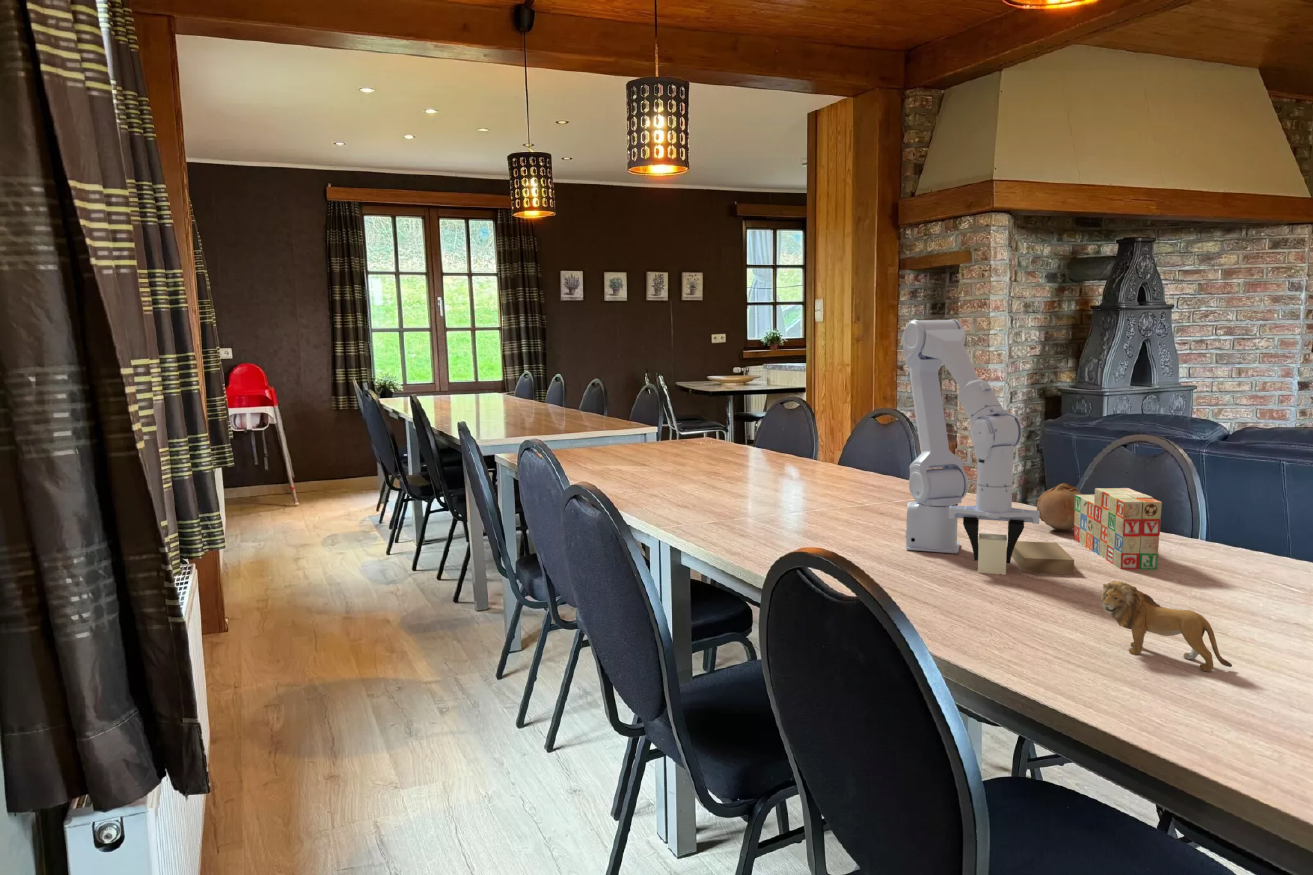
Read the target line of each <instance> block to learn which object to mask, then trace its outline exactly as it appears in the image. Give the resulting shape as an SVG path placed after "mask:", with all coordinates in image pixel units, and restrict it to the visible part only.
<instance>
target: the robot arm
mask: <svg viewBox="0 0 1313 875" xmlns="http://www.w3.org/2000/svg"><path fill="white" fill-rule="evenodd" d="M966 335H967V334H966V332H965V330H964V328H963V326H962V323H961V322H960V321H959V320H957V319H956V318H950V319H936V320H935V319H931V320H930V319H929V320H928V319H927V320H925V319H923V320H922V319H921V320H919V319H911V320H910V321H908V323H907V324H906V327H905V328H904V331H903V333H902V335H901V340H902V347H903V355H904V361H905V366H907V367H908V371H909V378H910V386H911V394H912V399H913V407H914V414H915V421H916V429H917V434H918V443H919V449H920V454H919V455H918V456H917V458H915V459H914V460H913V461H912V462H911V464H910V465H909V479H908V489H909V492H910V496H912V499H914V501H908V503H907V507H906V529H905V540H906V541H905V543H906V544H905V546H906V547H905V550H908V551H918V552H919V551H920V552H932V553H933V552H934V553H944V554H959V550H960V545H961V543H960V541H958V519H963V520H962V521H963V522H962V524H963V527H964V529H965V532H966V534H967V536H968V539H969V541H970V544H971V548H972V553H973V561H975V562H978V545H979V526H980V525H979V523H980V520H984V521H997V522H998V521H1000V522H1008V523H1007V553H1006V564H1011V559H1012V557H1011V556H1012V552H1013V549H1014V547H1015V544H1016V542H1017V541H1018V540H1019V538H1020V536H1021V535H1022V533H1023V531H1024V529H1025V523H1030V524H1035V525H1039V524H1040V520H1041V519H1040V512H1039V511H1037V509H1035V510H1034V509H1024V508H1018V507H1017V508H1016V507H1012V505H1013V504H1012V502H1013V478H1014V477H1013V474H1014V473H1013V472H1014V471H1013V470H1014V469H1013V468H1014V447H1017V446H1018V445H1019V444H1020V442H1021V439H1022V437H1023V436H1022V434H1023V429H1022V424H1021V422H1020V419H1019V417H1018V416H1017V415H1015V414H1013V413H1010V412H1009V410H1006V409H1004V408H1003V406H1002V405H1001V403H1000V401H999V399H998V397H997V396H996V394H995V392H994V390H993V388H992V387H991V385H990V383H989V382H988V381H986V380H982V379H981V380H980V379H979V376H978V375H977V373H976V370H975V368H974V366H973V364H972V361H971V359H970V356H969V354H968V352H967V350H966V347H965V344H966V337H967V336H966ZM943 366H945V367H946V369H947V370H948V372H949V374H950V376H951V377H952V378H953V380H954V381H955V382H956V384H957V385H958V387H959V391H958V393H957V400H958V401H959V403H960V405H961V407H962V408H963V410H964V412H965V414H966V416H967V418H968V420H969V422H970V423H971V425H972V427H971V430H970V432H969V433H970V440H971V442H972V445H973V448H974V449H973V450H974V457H975V458H976V459H977V460H976V461H977V462H976V464H977V465H976V496H975V499H976V500H975V505H959V504H962V500H963V499H964V497H965V496H967V493H968V490H969V486H970V484H969V482H970V481H969V479H968V476H967V474H966V472H965V470H964V466H963V461H962V459H961V458H960V457H959V456H957V455H956V454H954V453H953V452H952V451H951V450H950V444H949V438H948V432H947V425H946V418H945V412H944V404H943V399H942V391H941V385H940V384H941V383H940V377H939V370H940V369H941V368H942V367H943ZM930 468H931V469H930ZM932 468H933V469H932Z"/></svg>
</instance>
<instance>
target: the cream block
mask: <svg viewBox="0 0 1313 875" xmlns="http://www.w3.org/2000/svg"><path fill="white" fill-rule="evenodd" d="M1007 543H1008V534H999V533H985V532H981V533H980V532H978V561H977V573H978V574H987V575H988V574H989V575H999V574H1002V576H1006V575H1007V563H1006V553H1007Z"/></svg>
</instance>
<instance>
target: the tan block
mask: <svg viewBox="0 0 1313 875" xmlns="http://www.w3.org/2000/svg"><path fill="white" fill-rule="evenodd" d="M1011 559H1013V560H1014V562H1015V563H1016V565H1017V566H1018V567H1019V569H1020V570H1021V571H1022V573H1025V574H1048V575H1049V574H1052V575H1057V574H1058V575H1074V574H1075V559H1074V558H1073V557H1072V556H1071V555H1070V554H1069V553H1068V552H1067V551H1066V550H1065V549H1064V548H1063V547H1062V546H1061V545H1059V543H1058V542H1056V541H1055V542H1054V541H1053V542H1051V541H1050V542H1049V541H1025V540H1024V541H1021V540H1019V541H1018V540H1017V542H1016V544H1015V547H1014V549H1013V552H1012V556H1011Z"/></svg>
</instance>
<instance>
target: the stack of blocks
mask: <svg viewBox="0 0 1313 875" xmlns="http://www.w3.org/2000/svg"><path fill="white" fill-rule="evenodd" d="M1162 505H1163V502H1162V501H1160V500H1157V499H1156V498H1153V496H1151V495H1148V494H1145V493H1142V492H1139V491H1136V490H1134V489H1131V488H1129V487H1120V488H1119V487H1118V488H1117V487H1114V488H1113V487H1112V488H1110V487H1109V488H1108V487H1107V488H1105V487H1104V488H1102V487H1101V488H1100V487H1099V488H1098V487H1095V488H1094V494H1082V495H1075V502H1074V509H1075V518H1074V525H1075V527H1074V529H1073V540H1075V541H1076V540H1077V541H1076V542H1077V543H1078V544H1080V543H1081V544H1080V545H1082V544H1083V545H1084V547H1085V548H1087V547H1088V548H1089V549H1088V548H1087V549H1088V550H1090V551H1092V552H1094V553H1095V552H1096V553H1097V554H1096V553H1095V554H1096V555H1098V556H1099V557H1101V556H1102V557H1101V558H1102V559H1104V558H1105V559H1104V560H1106V561H1107V562H1108V561H1109V562H1108V563H1110V564H1112V565H1113V566H1114V567H1116V568H1118V569H1119V570H1158V565H1159V564H1158V563H1159V545H1160V544H1159V542H1160V535H1161V524H1162V523H1161V522H1162V520H1161V516H1162ZM1083 545H1082V546H1083Z"/></svg>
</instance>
